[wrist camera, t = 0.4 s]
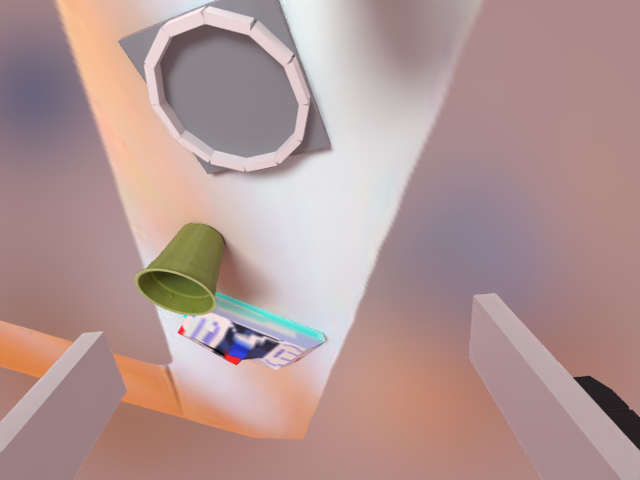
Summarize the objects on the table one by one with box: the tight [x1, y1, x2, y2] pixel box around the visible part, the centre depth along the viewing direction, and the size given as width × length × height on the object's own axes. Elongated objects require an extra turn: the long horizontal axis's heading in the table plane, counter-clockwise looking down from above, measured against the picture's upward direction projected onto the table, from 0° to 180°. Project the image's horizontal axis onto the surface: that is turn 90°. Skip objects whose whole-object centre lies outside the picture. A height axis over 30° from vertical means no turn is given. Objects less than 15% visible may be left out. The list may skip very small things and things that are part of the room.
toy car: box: [178, 291, 326, 371], centre depth 78 cm, size 17×30×9 cm, turn 60°
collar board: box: [118, 0, 330, 174], centre depth 40 cm, size 17×17×2 cm
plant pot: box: [135, 223, 224, 316], centre depth 56 cm, size 12×12×11 cm
